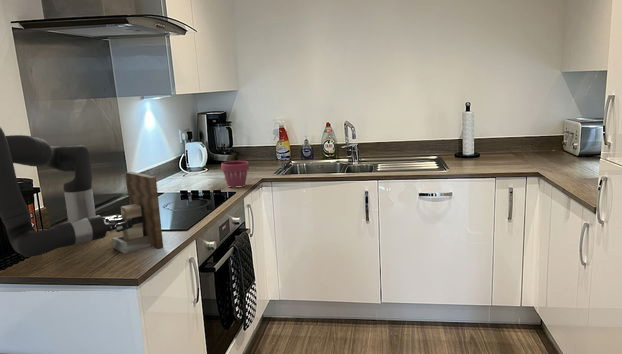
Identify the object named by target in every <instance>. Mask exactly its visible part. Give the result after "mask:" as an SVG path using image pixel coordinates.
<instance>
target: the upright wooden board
mask: <svg viewBox="0 0 622 354" xmlns="http://www.w3.org/2000/svg"><path fill="white" fill-rule="evenodd" d="M125 179H126V187H127V188H126V189H127V195H128V205H133V204H136V205H139V206H141V210H142V215H143V228H144V230H143V237H140V238H137V239H133V240H129V241H124V238H123V235H120V236H116V237H112V246H113V249H114V250H117V251H119V252H121V253H122V254H125V255H126V254H128V253H131V252H136V251H139V250H143V249H146V248H149V247H152V248H154V249H157V250H159V249H163V248H164V239H163V233H162V223H161V221H162V220H161V211H160V204H159V194H158V184H157V183H158V182H157V177H156V176H153V175H148V174H146V173H145V174H144V173H139V172H136V171H126V172H125Z"/></svg>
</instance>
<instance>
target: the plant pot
mask: <svg viewBox="0 0 622 354" xmlns="http://www.w3.org/2000/svg"><path fill="white" fill-rule="evenodd" d="M220 166H221V171H222V172H223V175H224V178H225V181H226V185H227V187H228V186H231V187H236V186H243V185H245V186H246V181H247V176H248V171H249V170H250V163H249V162H248V161H247V160H231V161H223V162H221V165H220Z"/></svg>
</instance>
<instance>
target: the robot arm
mask: <svg viewBox="0 0 622 354" xmlns="http://www.w3.org/2000/svg"><path fill="white" fill-rule="evenodd" d="M14 164H17V165H22V166H28V167H29V166H30V167H39V168H41V167H46V168H51V169H54V170H57V171H59V172H65V173H67V172H69V173H70V172H71V173H73V172H74V178H73V179H71V180H69V181H66V182H64V183H63V185H62V187H63V192H64V193H63V195H64V200H65V207H66V213H67V221H68V222H65V223H64V222H63V223H59V224H56V225H55V224H54V225H53V226H51V227H50V228H47V229H44V230H43V229H42V230H39V231H36V230H35V229H34V226H33V224H32V221H31V220H32V219H31V218H32V216H31V212H30V210H29V207H28V206H27V203H26V200H25V198H24V197H23V193H22V192H21V189H20V185H19V183H18V179H17V174H16V170H15V167H14ZM92 171H93V170H92V159H91V154H90V151H89V149H88V147H86V146H85V145H67V146H66V145H63V146H55V145H54V146H53V145H51V144H50V143H49V142H47V141H46V140H45V139H42V138H40V137H34V136H31V135H24V134H23V135H22V134H17V135H16V134H15V135H14V134H13V135H11V134H10V135H6V134H5V132H4V129H3V128H2V127H1V126H0V218H1V221H2V223H3V225H4V226H5V230H6V234H7V237H8V241H9V243H10V245H11V247H12V249H13V250H14V251H15V252H16V253H17V254H18V255H21V256H23V257H26V258H34V257H37V256H42V255H45V254H48V253H50V252H53V251H55V250H57V249H61V248H65V247H69V246H73V245H79V244H84V243H89V242H93V241H97V240H101V239H104V238H105V237H106V236H107V232H110V233H111V232H116V233H120V232H123V230H126V229H129V228H132V227H133V225H135V224H139V223H142V222H143V217H142V216H138V217H134V218H129V219H124V218H122V216H121V215H120V214H113V215H107V216H101V215H100V214H99V215H96V208H95V201H94V193H93V185H92V184H93V183H92V182H93V172H92ZM127 223H128V225H127Z"/></svg>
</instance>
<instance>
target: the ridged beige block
mask: <svg viewBox="0 0 622 354" xmlns="http://www.w3.org/2000/svg"><path fill="white" fill-rule="evenodd" d="M120 214H121V216H122V218H124V219H129V218H134V217H138V216H142V217H143V215H142V210H141V206H139V205H136V204H133V205H129V204H128V205H123V206H120ZM127 225H128V223H127ZM143 230H144V228H143V222H142V223H139V224H135V225H133V227H132V228H129V229H126V230H123V231H122V236H123V238H124V241H129V240H133V239H137V238H140V237H143Z"/></svg>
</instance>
